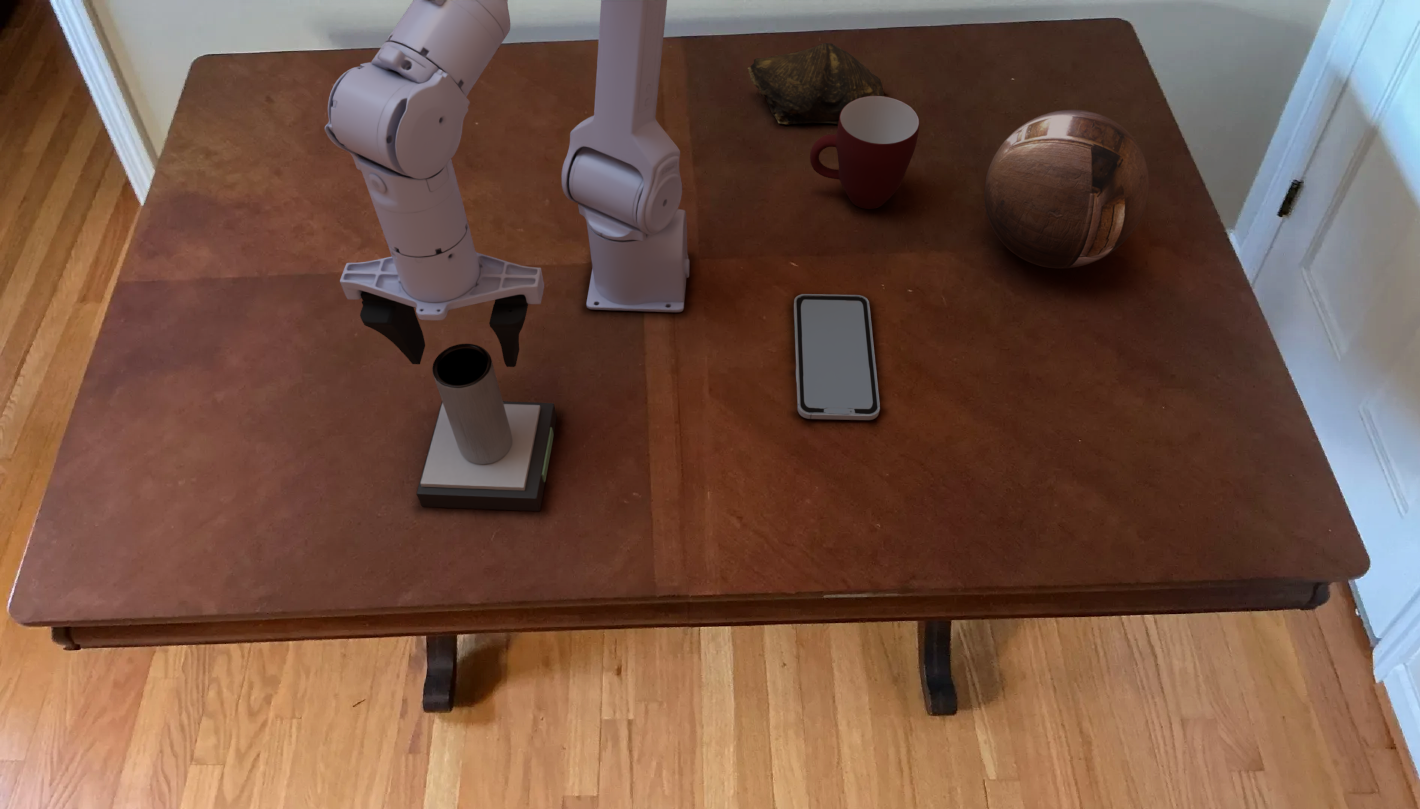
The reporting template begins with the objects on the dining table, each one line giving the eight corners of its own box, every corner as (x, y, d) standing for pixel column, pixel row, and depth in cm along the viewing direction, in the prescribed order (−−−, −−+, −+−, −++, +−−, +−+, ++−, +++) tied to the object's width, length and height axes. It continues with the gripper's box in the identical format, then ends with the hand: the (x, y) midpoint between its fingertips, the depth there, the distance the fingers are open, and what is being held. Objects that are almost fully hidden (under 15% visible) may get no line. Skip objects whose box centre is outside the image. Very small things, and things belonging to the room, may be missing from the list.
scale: (558, 416, 89) (555, 399, 87) (541, 511, 83) (537, 495, 81) (446, 412, 90) (440, 395, 88) (421, 506, 84) (414, 490, 82)
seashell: (880, 76, 120) (891, 32, 114) (886, 135, 117) (898, 93, 110) (745, 75, 120) (748, 31, 114) (747, 135, 116) (750, 93, 110)
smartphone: (868, 295, 97) (881, 415, 88) (867, 301, 98) (880, 421, 89) (793, 293, 98) (797, 414, 88) (792, 299, 98) (797, 420, 89)
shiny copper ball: (965, 195, 108) (996, 73, 96) (1106, 203, 107) (1155, 81, 95) (976, 295, 98) (1012, 174, 87) (1131, 304, 98) (1188, 183, 86)
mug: (809, 223, 105) (817, 145, 97) (804, 173, 110) (811, 95, 102) (909, 222, 105) (925, 144, 97) (900, 172, 110) (914, 94, 102)
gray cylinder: (519, 454, 84) (498, 376, 76) (467, 472, 83) (440, 395, 75) (504, 415, 86) (482, 335, 78) (452, 432, 85) (425, 353, 77)
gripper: (307, 266, 67) (363, 392, 78) (521, 272, 67) (548, 397, 78) (335, 197, 72) (385, 325, 82) (536, 202, 71) (560, 330, 82)
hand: (465, 356), depth 80 cm, fingers open, 7 cm apart
